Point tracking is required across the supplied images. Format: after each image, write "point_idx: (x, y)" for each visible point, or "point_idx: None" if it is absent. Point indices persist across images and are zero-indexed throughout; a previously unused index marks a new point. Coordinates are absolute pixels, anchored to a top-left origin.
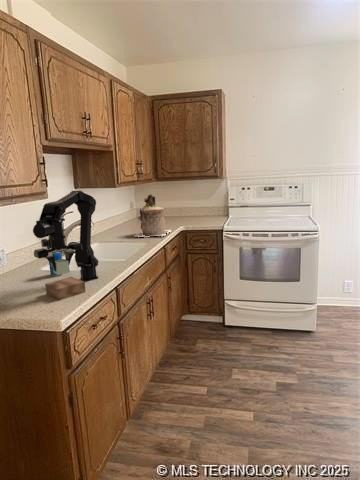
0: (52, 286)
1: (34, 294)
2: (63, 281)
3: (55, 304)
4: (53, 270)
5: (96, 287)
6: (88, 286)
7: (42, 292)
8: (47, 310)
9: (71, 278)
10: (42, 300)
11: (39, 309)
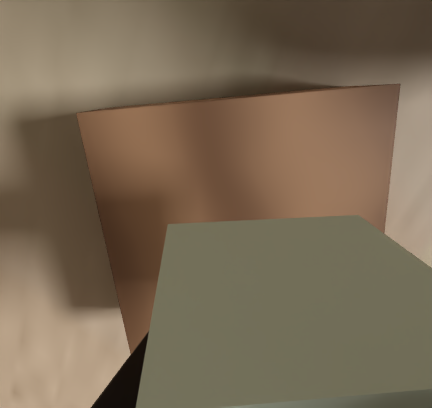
0: (120, 268)
1: (8, 18)
2: (259, 194)
3: (108, 353)
4: (164, 249)
5: (428, 251)
6: (414, 189)
7: (86, 22)
8: (49, 401)
9: (363, 156)
10: (50, 232)
11: (10, 365)
